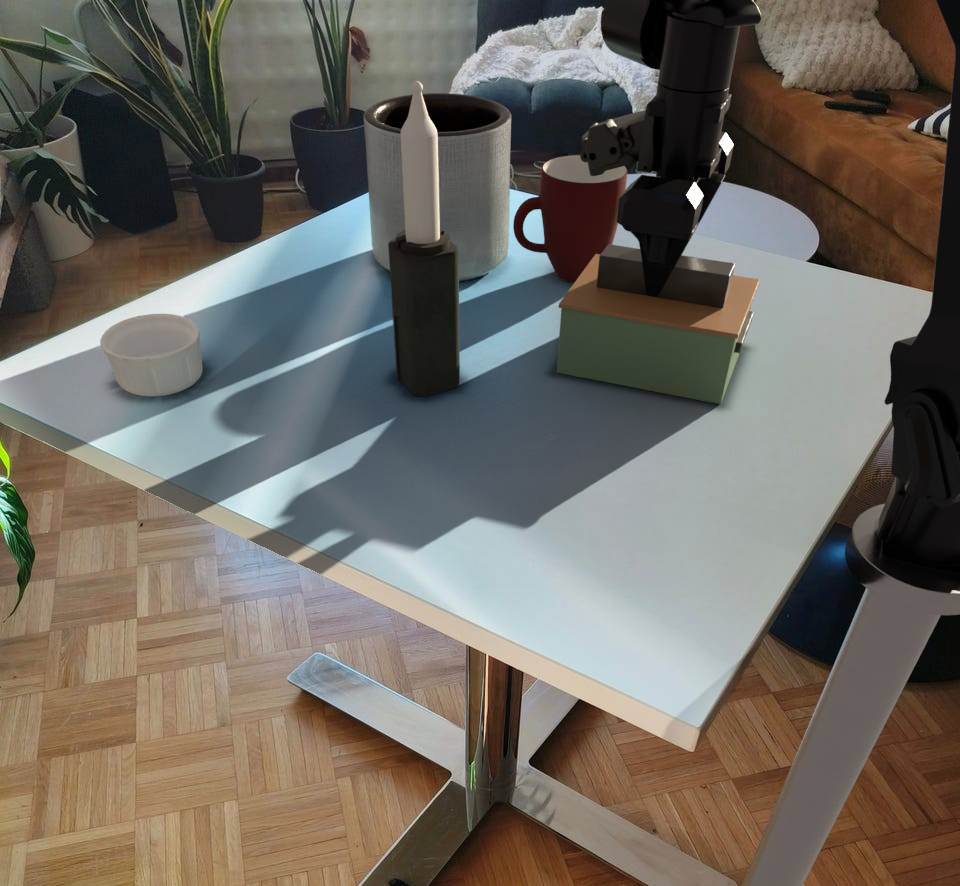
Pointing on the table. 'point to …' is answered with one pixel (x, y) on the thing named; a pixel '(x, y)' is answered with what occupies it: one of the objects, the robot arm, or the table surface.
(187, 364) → the ramekin
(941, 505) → the robot arm
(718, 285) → the stick
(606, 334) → the bread box
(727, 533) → the table surface
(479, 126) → the planter
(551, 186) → the mug
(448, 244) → the candle
